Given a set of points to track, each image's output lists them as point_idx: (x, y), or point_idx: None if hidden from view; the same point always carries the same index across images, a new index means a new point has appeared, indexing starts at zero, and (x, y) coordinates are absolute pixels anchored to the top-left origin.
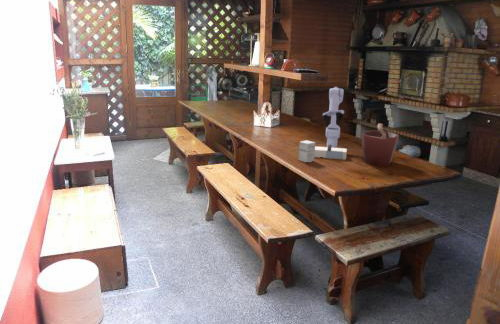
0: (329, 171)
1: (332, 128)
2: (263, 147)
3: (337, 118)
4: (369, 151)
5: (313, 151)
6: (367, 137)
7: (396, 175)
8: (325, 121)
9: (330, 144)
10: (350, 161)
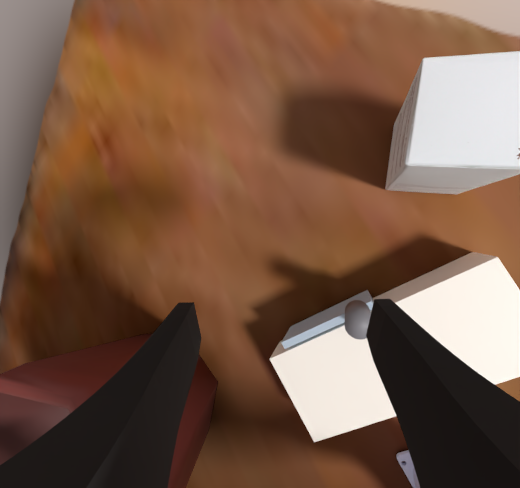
0: (227, 104)
1: None
2: None
3: (120, 376)
4: (131, 352)
5: (395, 163)
6: (68, 386)
7: (61, 262)
8: (438, 353)
9: (357, 334)
10: (247, 322)
